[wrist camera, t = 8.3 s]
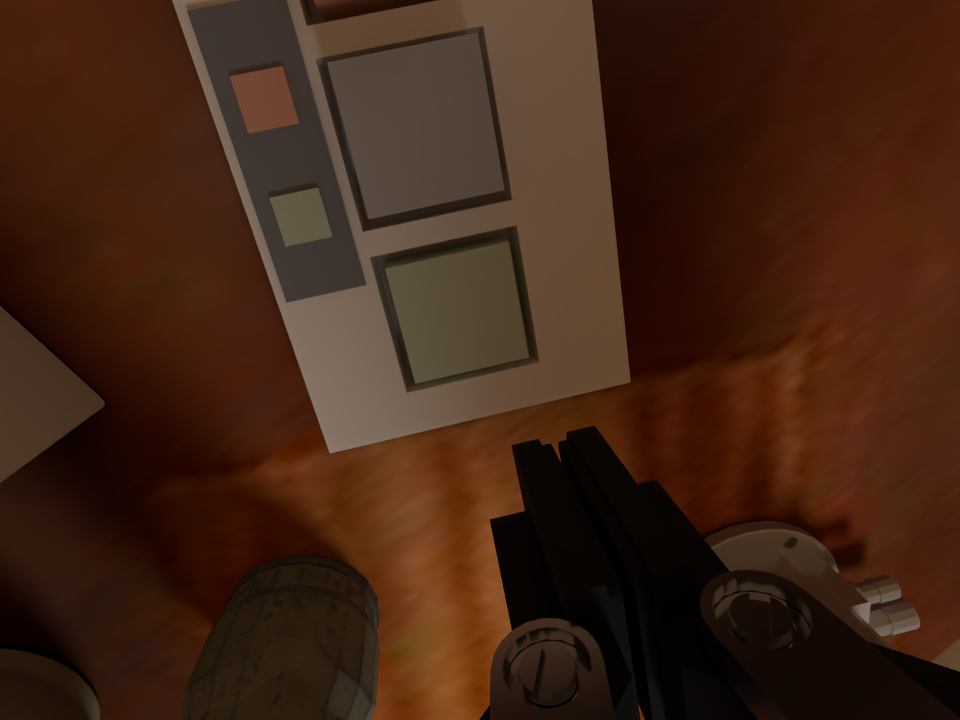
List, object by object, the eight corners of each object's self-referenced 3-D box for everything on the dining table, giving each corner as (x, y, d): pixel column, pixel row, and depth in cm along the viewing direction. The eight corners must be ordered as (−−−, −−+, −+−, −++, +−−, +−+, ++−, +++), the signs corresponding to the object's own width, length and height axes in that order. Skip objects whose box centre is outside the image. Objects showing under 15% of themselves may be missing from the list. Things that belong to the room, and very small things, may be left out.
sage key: (498, 235, 23) (508, 241, 20) (517, 340, 24) (529, 357, 22) (387, 259, 22) (384, 269, 20) (414, 364, 24) (415, 383, 22)
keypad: (530, -256, 18) (560, -363, 15) (603, 357, 27) (634, 385, 23) (139, -188, 18) (68, -283, 14) (340, 419, 26) (328, 457, 22)
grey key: (469, 50, 19) (477, 32, 17) (494, 189, 21) (504, 190, 18) (337, 76, 19) (326, 62, 16) (373, 214, 21) (368, 219, 18)
